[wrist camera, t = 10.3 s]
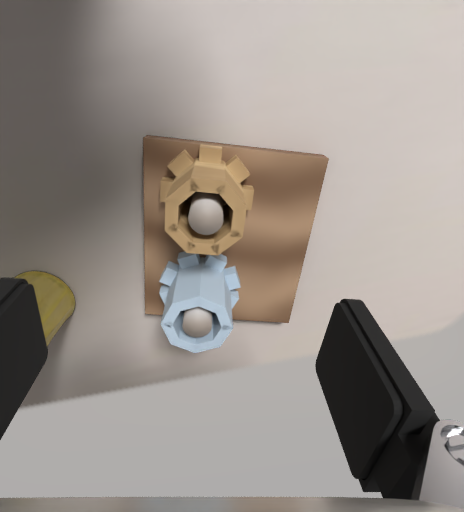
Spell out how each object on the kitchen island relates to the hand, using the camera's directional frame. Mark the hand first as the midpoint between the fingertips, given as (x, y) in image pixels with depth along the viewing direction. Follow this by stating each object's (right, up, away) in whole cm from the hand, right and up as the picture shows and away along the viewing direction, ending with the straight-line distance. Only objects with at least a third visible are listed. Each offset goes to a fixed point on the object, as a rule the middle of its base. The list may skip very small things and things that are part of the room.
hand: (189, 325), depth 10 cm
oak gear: (-1, +7, +15) cm, 17 cm away
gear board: (+1, +4, +19) cm, 19 cm away
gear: (-2, 0, +19) cm, 19 cm away
